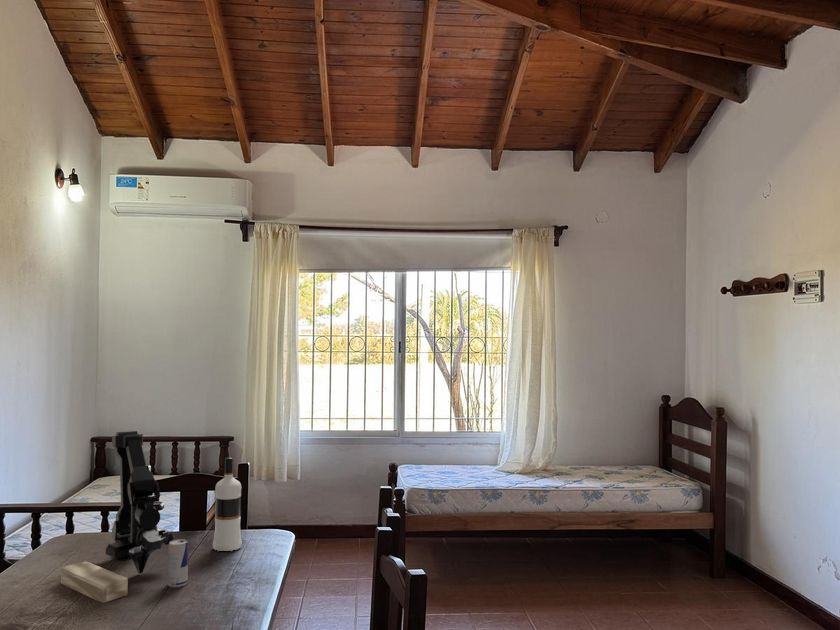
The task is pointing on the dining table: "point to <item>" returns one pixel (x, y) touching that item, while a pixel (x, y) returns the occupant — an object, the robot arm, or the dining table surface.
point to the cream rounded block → (94, 581)
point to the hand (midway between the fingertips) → (140, 572)
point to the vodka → (227, 511)
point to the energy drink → (177, 563)
